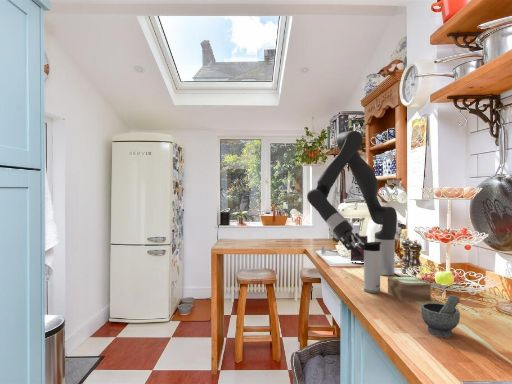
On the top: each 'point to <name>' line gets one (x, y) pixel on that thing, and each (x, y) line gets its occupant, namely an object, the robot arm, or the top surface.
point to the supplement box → (353, 256)
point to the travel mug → (372, 267)
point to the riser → (409, 289)
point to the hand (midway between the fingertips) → (364, 255)
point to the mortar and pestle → (441, 316)
